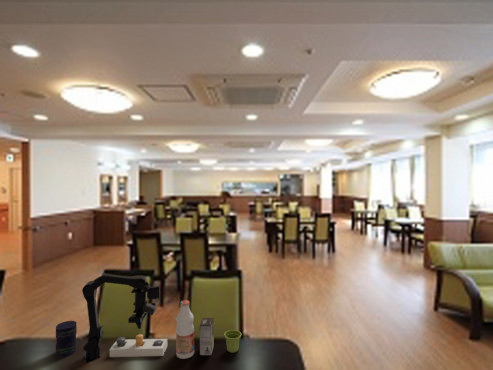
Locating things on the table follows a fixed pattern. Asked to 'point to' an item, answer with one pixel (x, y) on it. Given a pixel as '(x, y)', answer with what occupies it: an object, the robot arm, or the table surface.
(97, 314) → the robot arm
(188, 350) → the fruit juice
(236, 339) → the plant pot
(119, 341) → the knob
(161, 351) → the console
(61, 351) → the storage jar
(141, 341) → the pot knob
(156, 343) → the knob
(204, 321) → the coffee box
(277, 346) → the table surface
